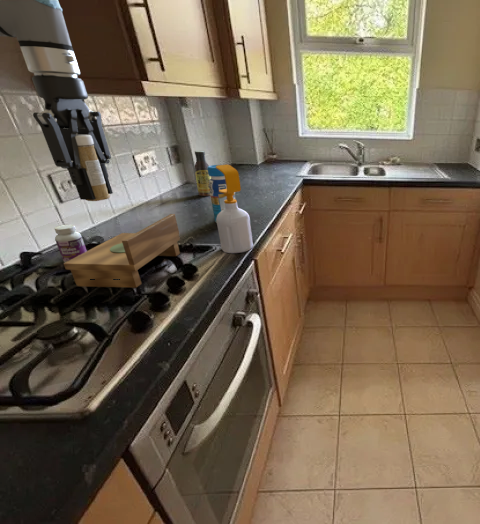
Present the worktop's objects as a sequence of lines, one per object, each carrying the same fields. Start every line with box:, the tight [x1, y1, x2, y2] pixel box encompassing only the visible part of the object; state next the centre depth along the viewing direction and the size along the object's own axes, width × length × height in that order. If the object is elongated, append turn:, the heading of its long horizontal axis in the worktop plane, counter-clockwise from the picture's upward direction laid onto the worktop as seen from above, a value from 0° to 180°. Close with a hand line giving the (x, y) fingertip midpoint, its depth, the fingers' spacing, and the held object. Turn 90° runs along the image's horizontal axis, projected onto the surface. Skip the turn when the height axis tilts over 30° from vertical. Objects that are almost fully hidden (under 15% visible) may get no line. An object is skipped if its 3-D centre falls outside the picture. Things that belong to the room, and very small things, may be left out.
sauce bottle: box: [194, 150, 211, 197], centre depth 152 cm, size 6×6×20 cm
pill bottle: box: [54, 224, 88, 263], centre depth 88 cm, size 5×5×10 cm
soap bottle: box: [216, 164, 254, 254], centre depth 96 cm, size 9×9×25 cm
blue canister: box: [207, 164, 236, 224], centre depth 119 cm, size 8×8×20 cm
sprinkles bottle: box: [75, 134, 111, 202], centre depth 71 cm, size 5×5×14 cm
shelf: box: [63, 213, 181, 289], centre depth 85 cm, size 16×20×12 cm
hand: (97, 196), depth 73 cm, fingers closed on sprinkles bottle, 4 cm apart
